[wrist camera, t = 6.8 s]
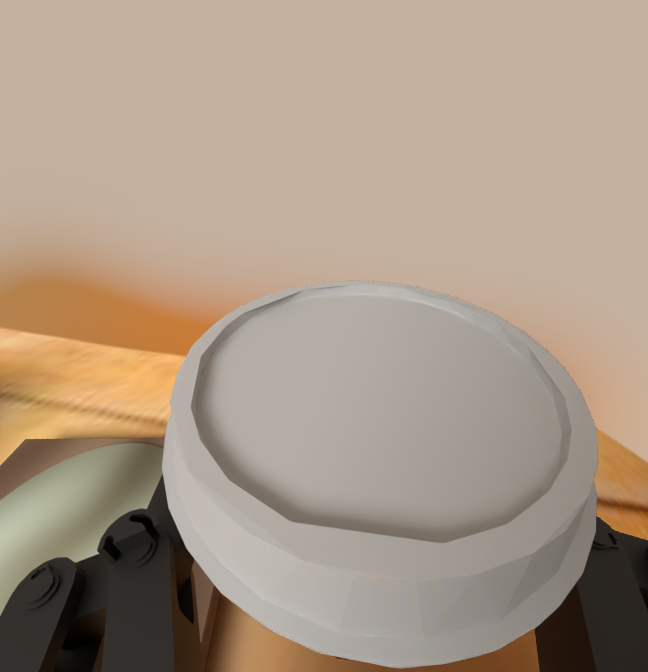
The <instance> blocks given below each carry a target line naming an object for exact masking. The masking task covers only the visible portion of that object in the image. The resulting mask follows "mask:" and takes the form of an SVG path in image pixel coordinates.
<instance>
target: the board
mask: <svg viewBox="0 0 648 672" xmlns="http://www.w3.org/2000/svg"><path fill="white" fill-rule="evenodd" d="M164 443H165V438H114V439H25V440H24V441H23V442H22V444H21V445H20V446H19V447H18V448H17V449H16V450H15V451H14V452H13V453H12V454H11V455H10V456H9V457H8V458H7V459H6V460H5V461H4V463H3V464H2V465H1V466H0V615H1V613H2V611H3V610H4V608H5V606H6V604H7V602H8V600H9V598H10V596H11V595H12V593H13V592H14V590H15V589H16V587H17V586H18V584H19V583H20V582H21V581H22V580H23V579H24V578H25V577H26V576H27V575H28V574H29V573H30V572H31V571H32V570H34V569H35V568H37V567H38V566H39V565H41V564H42V563H44V562H46V561H49V560H51V559H54V558H56V557H68V558H69V559H71V560H72V561H74V562H78V561H81V560H83V559H86V558H89V557H91V556H94V555H97V554H99V552H98V551H97V548H98V545H99V542H100V539H101V537H102V536H103V534H104V533H105V531H106V530H107V528H108V527H109V526H110V525H111V524H112V523H113V522H114V521H116V520H117V519H118V518H119V517H120V516H122V515H124V514H126V513H128V512H129V511H132V510H136V509H140V508H142V509H147V507H148V505H149V503H150V501H151V498H152V496H153V494H154V492H155V489H156V487H157V485H158V483H159V480H160V478H161V476H162V474H163V471H162V461H163V452H164ZM192 571H193V574H194V580H195V590H196V600H197V611H198V621H199V631H200V642H201V652H202V662H203V672H205V667H206V662H207V657H208V652H209V647H210V642H211V637H212V633H213V628H214V623H215V618H216V613H217V608H218V603H219V598H220V593H221V592H220V591H219V590H218V589H217V588H216V586H215V585H214V584H213V583H212V581H211V580H210V579H209V577H208V576H207V575H206V573H205V572H204V571H203V569H202V568H201V567H200V565H199V564H198V563H197V562H196V560H195V559H194V562H193V566H192Z"/></svg>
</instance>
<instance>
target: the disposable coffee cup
mask: <svg viewBox="0 0 648 672" xmlns="http://www.w3.org/2000/svg"><path fill="white" fill-rule="evenodd" d="M170 404H171V416H170V419H169V421H168V424H167V426H166V433H165V443H164V452H163V461H162V471H163V477H164V483H165V490H166V496H167V502H168V508H169V510H170V512H171V515H172V517H173V519H174V521H175V524H176V526H177V528H178V530H179V533H180V535H181V537H182V539H183V541H184V544H185V546H186V548H187V550H188V551H189V552H190V554H191V555H192V556H193V558H194V559H195V560H196V562H197V563H198V564H199V565H200V567H201V568H202V569H203V571H204V572H205V573H206V575H207V576H208V577H209V579H210V580H211V581H212V583H213V584H214V585H215V586H216V588H217V589H218V590H219V591H220V592H221V594H223V595H224V596H225V597H226V598H228V599H229V600H230V601H232V602H233V603H234V604H236V605H237V606H238V607H240V608H241V609H242V610H243V611H245V612H246V613H247V614H249V615H250V616H251V617H253V618H254V619H255V620H257V621H258V622H259V623H260V624H262V625H263V626H264V627H266V628H268V629H269V630H271V631H273V632H275V633H277V634H279V635H281V636H283V637H285V638H287V639H289V640H291V641H294V642H296V643H298V644H300V645H302V646H304V647H306V648H308V649H311V650H313V651H315V652H317V653H320V654H325V655H330V656H333V657H335V658H338V659H345V660H354V661H361V662H366V663H371V664H376V665H381V666H386V667H392V668H399V669H402V668H412V667H421V666H431V665H440V664H447V663H452V662H456V661H460V660H465V659H469V658H474V657H478V656H481V655H484V654H487V653H490V652H493V651H496V650H499V649H500V648H502V647H504V646H505V645H507V644H509V643H510V642H512V641H514V640H515V639H517V638H519V637H521V636H522V635H524V634H526V633H527V632H529V631H531V630H532V629H534V628H536V627H537V626H539V625H540V624H541V623H542V622H543V621H544V620H545V619H546V618H547V617H548V616H549V615H551V614H552V613H553V612H554V611H555V610H556V609H557V608H558V607H559V606H560V605H561V603H562V602H563V600H564V599H565V598H566V596H567V595H568V593H569V592H570V591H571V589H572V588H573V586H574V585H575V584H576V582H577V581H578V579H579V578H580V577H581V575H582V574H583V571H584V568H585V565H586V562H587V558H588V555H589V552H590V549H591V546H592V542H593V539H594V536H595V533H596V506H597V493H596V489H595V485H594V480H593V479H594V476H595V472H596V469H597V465H598V448H597V428H596V426H595V423H594V421H593V419H592V416H591V414H590V411H589V409H588V407H587V404H586V402H585V399H584V397H583V395H582V392H581V391H580V389H579V388H578V386H577V385H576V383H575V382H574V380H573V379H572V378H571V376H570V375H569V373H568V372H567V371H566V369H565V368H564V367H563V366H562V365H561V364H560V363H559V361H557V359H555V357H553V355H551V353H549V351H548V350H546V349H545V348H544V347H543V346H541V345H540V344H539V343H538V342H537V341H535V340H534V339H533V338H531V337H530V336H529V335H528V334H527V333H525V332H524V331H523V330H521V329H519V328H518V327H516V326H514V325H512V324H511V323H509V322H508V321H506V320H504V319H502V318H501V317H499V316H497V315H496V314H494V313H492V312H490V311H488V310H485V309H483V308H481V307H478V306H476V305H474V304H471V303H468V302H466V301H464V300H462V299H459V298H457V297H453V296H450V295H446V294H442V293H439V292H435V291H431V290H428V289H424V288H420V287H415V286H409V285H401V284H395V283H389V282H382V281H356V280H351V281H331V282H323V283H317V284H311V285H305V286H298V287H292V288H289V289H285V290H282V291H279V292H275V293H272V294H268V295H265V296H263V297H261V298H258V299H256V300H254V301H251V302H249V303H247V304H244V305H243V306H241V307H239V308H238V309H236V310H234V311H232V312H230V313H229V314H227V315H226V316H224V317H223V318H222V319H220V320H219V321H218V322H217V323H215V324H214V325H213V326H212V327H211V328H210V329H208V330H207V331H206V332H205V333H204V335H203V336H201V338H199V339H198V341H196V342H195V343H194V344H193V346H192V348H191V349H190V351H189V353H188V355H187V356H186V358H185V360H184V362H183V363H182V365H181V367H180V369H179V371H178V372H177V375H176V379H175V384H174V388H173V392H172V397H171V401H170Z"/></svg>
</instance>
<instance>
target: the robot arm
mask: <svg viewBox="0 0 648 672" xmlns="http://www.w3.org/2000/svg"><path fill="white" fill-rule="evenodd" d="M97 551H98V552H99V554H97V555H94V556H91V557H89V558H86V559H83V560H81V561H78V562H74V561H72V560H71V559H69V558H68V557H56V558H54V559H51V560H49V561H46V562H44V563H42V564H41V565H39V566H38V567H37V568H35V569H34V570H32V571H31V572H30V573H29V574H28V575H27V576H26V577H25V578H24V579H23V580H22V581H21V582H20V583H19V584H18V586H17V587H16V589H15V590H14V592H13V593H12V595H11V596H10V598H9V600H8V602H7V604H6V606H5V608H4V610H3V611H2V613H1V615H0V672H203V662H202V652H201V642H200V631H199V621H198V611H197V600H196V590H195V580H194V574H193V571H192V566H193V562H194V558H193V556H192V555H191V554H190V552H189V551H188V550H187V548H186V546H185V544H184V541H183V539H182V537H181V535H180V533H179V530H178V528H177V526H176V524H175V521H174V519H173V517H172V515H171V512H170V510H169V508H168V502H167V496H166V490H165V483H164V477H163V474H162V476H161V478H160V480H159V483H158V485H157V487H156V489H155V492H154V494H153V496H152V498H151V501H150V503H149V505H148V507H147V509H142V508H140V509H136V510H132V511H129V512H128V513H126V514H124V515H122V516H120V517H119V518H118V519H117V520H116V521H114V522H113V523H112V524H111V525H110V526H109V527H108V528H107V530H106V531H105V533H104V534H103V536H102V537H101V539H100V542H99V545H98V548H97ZM535 635H536V644H537V652H538V660H539V668H540V672H648V540H644V539H641V538H638V537H634V536H631V535H627V534H624V533H620V532H617V531H615V530H613V529H612V528H611V527H610V526H609V525H608V524H607V523H605V522H604V521H603V520H601V519H600V518H599V517H597V516H596V533H595V536H594V539H593V542H592V546H591V549H590V552H589V555H588V558H587V562H586V565H585V568H584V571H583V574H582V575H581V577H580V578H579V579H578V581H577V582H576V584H575V585H574V586H573V588H572V589H571V591H570V592H569V593H568V595H567V596H566V598H565V599H564V600H563V602H562V603H561V605H560V606H559V607H558V608H557V609H556V610H555V611H554V612H553V613H552V614H551V615H549V616H548V617H547V618H546V619H545V620H544V621H543V622H542V623H541V624H540V625H539V626H537V627H536V628H535Z"/></svg>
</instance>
